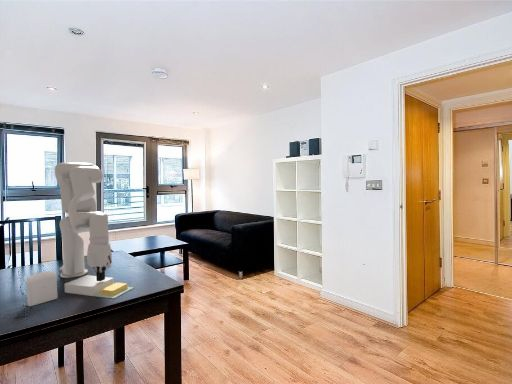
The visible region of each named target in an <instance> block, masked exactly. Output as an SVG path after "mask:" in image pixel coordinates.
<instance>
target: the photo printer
mask: <svg viewBox="0 0 512 384" xmlns="http://www.w3.org/2000/svg"><path fill="white" fill-rule="evenodd" d="M57 279H58V278H57V274H56V272H55V271H50V270H49V271H41V272H38V273H35V274H32V275H30V276H28V277H27V278H26V296H27V297H26V299H27V306H28V307H33V306H36V305H40V304H42V303H46V302H49V301H54V300H57V299H58V298H59V297H58V282H57V281H58V280H57Z"/></svg>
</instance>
